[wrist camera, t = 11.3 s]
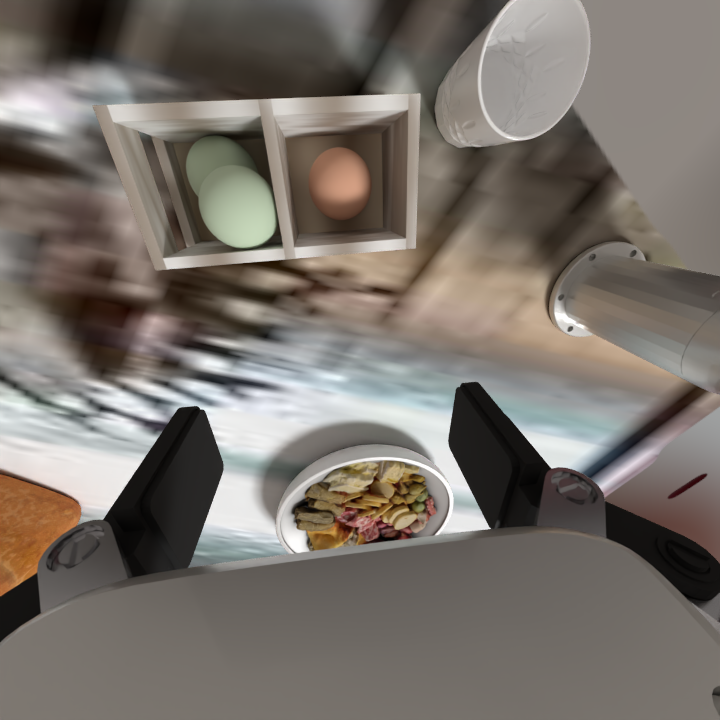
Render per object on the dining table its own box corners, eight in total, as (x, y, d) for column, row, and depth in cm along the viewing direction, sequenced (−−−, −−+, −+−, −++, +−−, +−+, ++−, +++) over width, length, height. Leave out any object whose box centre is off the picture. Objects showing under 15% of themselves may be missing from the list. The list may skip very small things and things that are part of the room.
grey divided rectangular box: (391, 108, 28) (428, 68, 19) (392, 244, 34) (421, 262, 25) (155, 118, 26) (72, 78, 17) (199, 260, 32) (154, 286, 23)
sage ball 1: (262, 158, 28) (242, 114, 23) (270, 220, 29) (252, 192, 23) (201, 163, 28) (165, 120, 22) (210, 225, 28) (177, 198, 23)
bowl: (240, 499, 51) (229, 546, 44) (383, 401, 45) (396, 438, 38) (348, 561, 65) (353, 604, 58) (469, 493, 59) (489, 532, 52)
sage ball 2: (261, 138, 20) (303, 220, 22) (243, 175, 25) (279, 240, 27) (182, 162, 18) (237, 251, 20) (178, 198, 23) (223, 267, 25)
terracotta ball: (365, 150, 28) (375, 140, 23) (367, 215, 31) (377, 220, 26) (304, 153, 28) (303, 144, 23) (313, 219, 30) (313, 225, 26)
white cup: (411, 102, 28) (455, 61, 20) (480, 23, 26) (562, -61, 18) (457, 173, 32) (512, 166, 23) (521, 109, 30) (607, 74, 21)
